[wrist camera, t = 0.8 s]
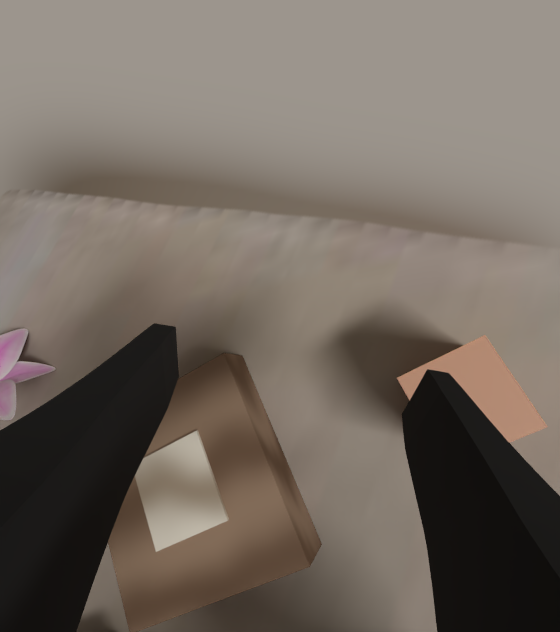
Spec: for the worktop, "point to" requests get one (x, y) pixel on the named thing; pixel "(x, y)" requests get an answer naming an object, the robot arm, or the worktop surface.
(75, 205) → the worktop surface
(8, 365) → the lily
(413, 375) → the terracotta block
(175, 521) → the walnut base
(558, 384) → the worktop surface
